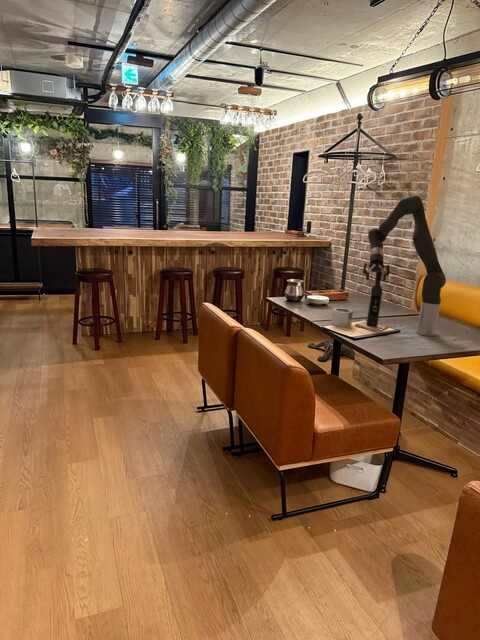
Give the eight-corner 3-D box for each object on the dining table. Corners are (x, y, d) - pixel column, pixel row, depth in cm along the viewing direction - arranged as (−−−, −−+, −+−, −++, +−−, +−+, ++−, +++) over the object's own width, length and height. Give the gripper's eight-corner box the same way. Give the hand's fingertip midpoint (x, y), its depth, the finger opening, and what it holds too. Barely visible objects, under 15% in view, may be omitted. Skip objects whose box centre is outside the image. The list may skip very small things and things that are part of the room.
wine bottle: (377, 327, 249) (385, 272, 242) (366, 326, 250) (374, 271, 242) (376, 324, 255) (384, 271, 247) (365, 323, 256) (373, 270, 248)
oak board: (367, 322, 261) (367, 321, 261) (387, 328, 252) (388, 326, 252) (354, 326, 252) (354, 324, 252) (375, 331, 243) (376, 329, 243)
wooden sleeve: (338, 320, 261) (340, 307, 259) (354, 325, 254) (356, 311, 252) (328, 323, 254) (329, 309, 252) (343, 327, 247) (345, 313, 245)
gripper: (364, 251, 260) (363, 274, 252) (390, 254, 257) (390, 277, 249) (362, 260, 266) (361, 282, 258) (388, 262, 264) (387, 285, 256)
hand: (375, 280), depth 254 cm, fingers open, 8 cm apart
